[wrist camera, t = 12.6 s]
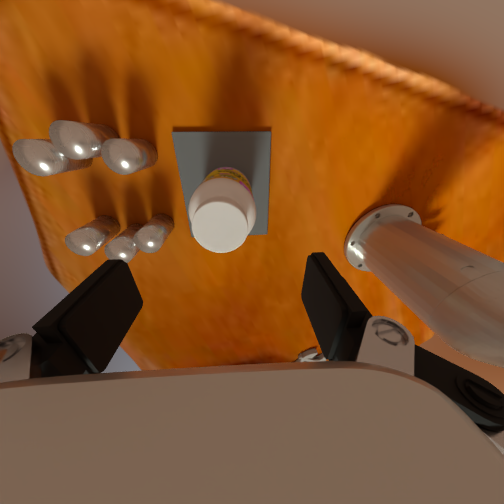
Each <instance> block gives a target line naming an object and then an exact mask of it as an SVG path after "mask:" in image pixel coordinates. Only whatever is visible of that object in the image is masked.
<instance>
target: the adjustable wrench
mask: <svg viewBox="0 0 504 504" xmlns="http://www.w3.org/2000/svg"><path fill="white" fill-rule="evenodd" d="M316 354H318V353H317V350H316V349H315V348H314V349H310V350H307V351H305V352H303V353H300V355H299V356H298V359H297V360H296V361H295V362H314V361H326V359H325V357H324V355H323V353H321V354H320V355H319V356H315V355H316Z"/></svg>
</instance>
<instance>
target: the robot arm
mask: <svg viewBox="0 0 504 504" xmlns="http://www.w3.org/2000/svg"><path fill="white" fill-rule="evenodd" d="M344 252H345V256H346V258H347V260H348V261H349V263H350V264H351V265H352V266H353V267H355V268H357V269H359V270H362V271H371V272H373V273H374V274H375V275H376V276H377V277H378V278H379V279H380V280H381V281H382V282H383V283H384V284H385V285H386V286H387V287H388V288H389V289H390V290H391V291H392V292H393V293H394V294H395V295H396V296H397V297H398V298H399V299H400V300H401V301H402V302H403V303H404V304H405V305H406V306H408V307H409V308H410V309H411V310H412V311H413V312H414V313H415V314H416V315H417V316H418V317H419V318H420V319H421V320H422V321H423V322H424V323H425V324H426V325H427V326H428V327H429V328H430V329H431V330H432V331H433V332H434V333H435V334H436V335H438V336H439V337H440V338H441V339H442V340H443V341H444V342H445V343H446V344H448V345H449V346H450V347H452V348H453V349H455V350H456V351H458V352H460V353H461V354H463V355H466V356H468V357H470V358H473V359H475V360H478V361H481V362H484V363H488V364H491V365H495V366H499V367H502V368H504V263H502V262H500V261H498V260H496V259H494V258H492V257H489V256H487V255H485V254H483V253H481V252H479V251H476V250H474V249H472V248H470V247H468V246H466V245H463V244H461V243H459V242H457V241H455V240H453V239H450V238H448V237H446V236H445V235H443V234H440V233H437V232H435V231H433V230H431V229H429V228H427V227H424V226H422V223H421V219H420V216H419V214H418V213H417V212H416V211H415V210H413V209H412V208H410V207H407V206H405V205H400V204H389V205H384V206H381V207H378V208H376V209H374V210H372V211H370V212H368V213H367V214H366V215H364V216H363V217H362V218H360V219H359V220H358V221H357V222H356V223H355V225H354V226H353V227H352V229H351V230H350V232H349V234H348V235H347V238H346V241H345V246H344ZM301 297H302V301H303V304H304V306H305V309H306V311H307V314H308V317H309V319H310V322H311V324H312V327H313V329H314V332H315V335H316V337H317V340H318V342H319V345H320V348H321V350H322V353H323V355H324V357H325V359H329V361H314V362H287V363H268V364H249V365H231V366H213V367H196V368H178V369H162V370H145V371H130V372H113V373H101V372H103V371H104V370H105V369H106V367H107V365H108V364H109V362H110V360H111V359H112V357H113V355H114V353H115V352H116V350H117V349H118V347H119V345H120V343H121V342H122V340H123V338H124V337H125V335H126V333H127V332H128V330H129V328H130V327H131V325H132V323H133V322H134V320H135V318H136V316H137V315H138V313H139V311H140V310H141V308H142V306H143V300H142V298H141V295H140V293H139V290H138V288H137V286H136V283H135V281H134V278H133V276H132V274H131V271H130V269H129V266H128V264H127V263H126V262H124V261H123V260H121V259H112V260H107V261H105V262H104V263H103V264H102V265H101V266H100V267H99V268H98V269H96V270H95V271H94V272H93V273H92V274H91V275H90V276H89V277H88V278H86V279H85V280H84V281H83V282H82V283H81V284H80V285H79V286H77V287H76V288H75V289H74V290H73V291H72V292H71V293H70V294H68V295H67V296H66V297H65V298H64V299H63V300H62V301H61V302H60V303H58V304H57V305H56V306H55V307H54V308H53V309H52V310H51V311H50V312H48V313H47V314H46V315H45V316H44V317H43V318H42V319H40V320H39V321H38V322H37V323H36V324H35V325H34V326H33V327H32V328H33V329H34V330H35V331H36V332H37V333H36V334H35V335H34V336H33V337H32V336H31V335H29V334H27V333H26V334H25V333H21V334H16V335H12V336H9V337H6V338H4V339H2V340H0V504H504V394H503V393H502V392H501V391H499V389H497V388H496V387H495V386H493V385H492V384H491V383H489V382H488V381H486V380H484V379H483V378H481V377H479V376H477V375H475V374H473V373H471V372H469V371H467V370H465V369H463V368H461V367H459V366H457V365H455V364H453V363H451V362H449V361H447V360H445V359H443V358H441V357H439V356H437V355H435V354H433V353H431V352H429V351H427V350H425V349H423V348H421V347H419V346H417V345H415V343H414V338H413V336H412V335H411V333H410V332H409V331H408V330H407V329H406V328H405V327H404V326H403V325H402V324H400V323H399V322H397V321H395V320H393V319H391V318H388V317H384V316H372V315H371V313H370V312H369V311H368V309H367V308H366V307H365V305H364V304H363V303H362V301H361V300H360V299H359V297H358V296H357V295H356V294H355V292H354V291H353V290H352V288H351V287H350V286H349V284H348V283H347V282H346V280H345V279H344V278H343V277H342V276H341V275H340V273H339V272H338V271H337V269H336V268H335V267H334V265H333V264H332V263H331V261H330V260H329V259H328V257H327V256H326V255H325V253H323V252H317V253H312V254H311V255H309V256H308V258H307V263H306V269H305V275H304V281H303V287H302V293H301Z"/></svg>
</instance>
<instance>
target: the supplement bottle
mask: <svg viewBox="0 0 504 504" xmlns="http://www.w3.org/2000/svg"><path fill="white" fill-rule="evenodd" d="M189 218H190V221H191V223H192V232H193V235H194V237H195V239H196V240H197V242H198V243H199V244H200V245H201V246H203V247H204V248H206V249H208V250H210V251H213V252H218V253H225V252H230V251H233V250H235V249H237V248H238V247H239V246H241V245H242V243H243V242H244V241H245V239H246V237H247V235H248V234H249V233H250V231H251V230H252V228H253V226H254V224H255V220H256V206H255V202H254V198H253V194H252V190H251V186H250V183H249V181H248V179H247V178H246V176H245V175H244V174H243V173H241V172H240V171H239V170H237V169H234V168H231V167H221V168H217V169H215V170H213V171H212V172H211V173H210V174H209V175H208V176H207V177H206V178H205V179H204V180H203V182H202V183H201V184H200V185H199V186H198V188H197V189H196V190H195V192H194V193H193V195H192V197H191V199H190V203H189Z"/></svg>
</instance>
